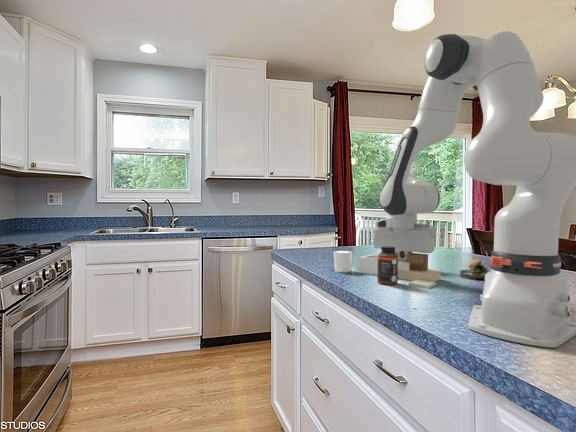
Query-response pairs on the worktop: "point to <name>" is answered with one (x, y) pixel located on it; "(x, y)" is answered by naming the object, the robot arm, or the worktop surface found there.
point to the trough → (371, 267)
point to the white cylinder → (342, 261)
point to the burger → (474, 271)
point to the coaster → (422, 283)
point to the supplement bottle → (388, 266)
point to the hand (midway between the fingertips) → (402, 264)
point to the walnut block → (418, 261)
